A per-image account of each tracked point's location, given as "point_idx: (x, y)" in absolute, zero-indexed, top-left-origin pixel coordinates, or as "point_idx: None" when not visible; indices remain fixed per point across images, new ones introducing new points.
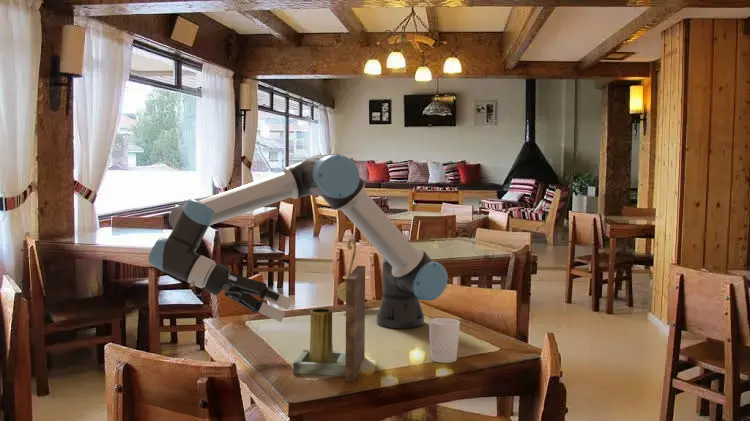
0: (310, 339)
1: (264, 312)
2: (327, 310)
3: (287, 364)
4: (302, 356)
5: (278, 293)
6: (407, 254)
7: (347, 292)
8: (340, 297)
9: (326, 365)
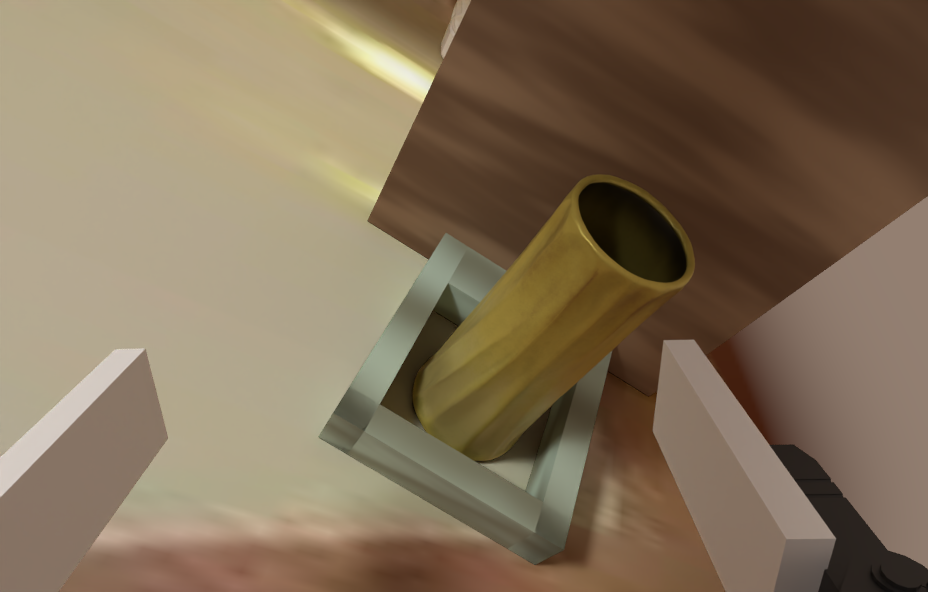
0: (533, 386)
1: (49, 582)
2: (584, 188)
3: (372, 551)
4: (455, 462)
5: (760, 436)
6: None
7: None
8: None
9: (597, 409)
